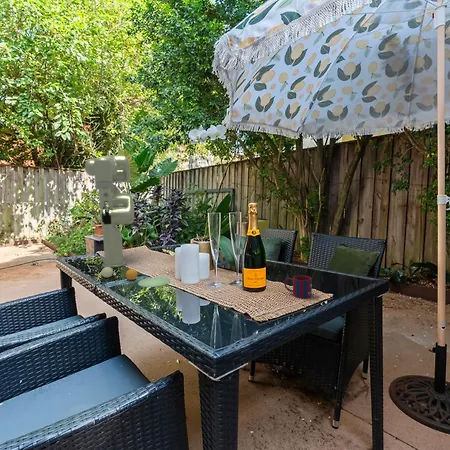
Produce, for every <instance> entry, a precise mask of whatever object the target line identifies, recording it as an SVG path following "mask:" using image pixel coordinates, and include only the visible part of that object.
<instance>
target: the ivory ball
mask: <svg viewBox="0 0 450 450" xmlns="http://www.w3.org/2000/svg"><path fill="white" fill-rule="evenodd" d="M100 273H101V276H102V277H103V278H107V279H108V278H111V277H112V275H113V273H114V272H113V268H112V267H103V268H102V270H101V272H100Z"/></svg>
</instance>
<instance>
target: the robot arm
mask: <svg viewBox="0 0 450 450" xmlns="http://www.w3.org/2000/svg"><path fill="white" fill-rule="evenodd" d="M84 169H85V173H86V174H87V175H88V176H90V177H94V183H95V184H94V185H95V186H94V187H95V190H98V199H99V200H98V201H99V207H100V212H99V218H100V222H101V227H102V237H103V238H102V239H103V251H104V252H103V253H104V256H101V258H99V260H100V261H101V262H103V263H101V266H102V267H103V268H105V267H110V268H118V267H123V266H125V265H127V261H126V260H124V251H123V235H122V234H123V233H122V231H121V229H119V228H118V226H120V225H122V226H123V225H131V224H133V223H134V221H135V206H134V204H135V202H134V198H133V196H132V195H131V194H130V193H121V192H120V189H119V187H118V186H116V185H115V183H128V182H130V180H131V170H130V162H129V159H128V158H127V156H125V155H122V154H119V155H116V154H114V155H113V154H112V155H110V154H109V155H108V154H107V155H104V156H101V157H93V158H89V159H87V160H86V161H85V165H84Z"/></svg>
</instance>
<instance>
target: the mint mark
mask: <svg viewBox="0 0 450 450" xmlns="http://www.w3.org/2000/svg"><path fill="white" fill-rule="evenodd" d="M169 282H170V283H171V279H170V278H168V277H162V276H161V277H160V276H159V277H158V276H156V277H148V278H144V279H141V280H139V281H138V282H137V285H138V286H140V287H143V288H157V287H163V286H165V285H166V286H167V285H168V284H170V283H169Z"/></svg>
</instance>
